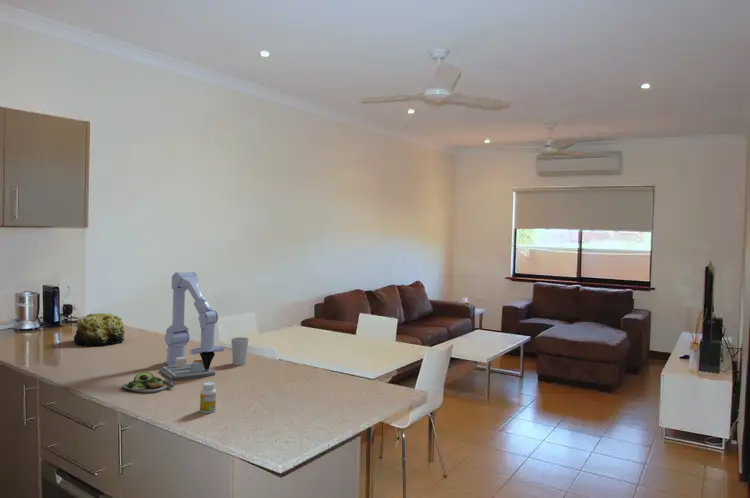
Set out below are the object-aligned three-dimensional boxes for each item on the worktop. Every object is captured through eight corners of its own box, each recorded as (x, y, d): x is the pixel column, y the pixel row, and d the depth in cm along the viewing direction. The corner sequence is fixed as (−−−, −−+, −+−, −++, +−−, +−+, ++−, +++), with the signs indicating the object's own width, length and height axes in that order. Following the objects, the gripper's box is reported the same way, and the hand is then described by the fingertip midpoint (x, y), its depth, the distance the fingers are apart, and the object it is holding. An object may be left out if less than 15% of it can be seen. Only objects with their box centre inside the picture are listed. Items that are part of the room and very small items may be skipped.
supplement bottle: (201, 408, 200) (202, 381, 200) (217, 408, 200) (218, 381, 200) (198, 413, 194) (199, 385, 194) (214, 413, 195) (215, 385, 195)
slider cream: (175, 367, 250) (175, 357, 249) (184, 366, 252) (184, 356, 252) (177, 369, 247) (177, 358, 247) (186, 368, 250) (186, 358, 249)
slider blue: (190, 373, 242) (191, 362, 242) (199, 371, 244) (200, 361, 244) (193, 374, 239) (193, 364, 239) (202, 373, 242) (202, 363, 242)
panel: (159, 371, 247) (159, 366, 247) (201, 366, 258) (201, 362, 258) (171, 380, 233) (171, 376, 233) (215, 375, 244) (215, 370, 244)
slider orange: (193, 369, 248) (193, 358, 248) (201, 368, 251) (202, 358, 251) (195, 370, 246) (195, 360, 246) (204, 369, 248) (204, 359, 248)
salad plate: (186, 385, 229) (186, 374, 229) (157, 397, 212) (157, 385, 211) (147, 379, 234) (147, 368, 234) (115, 390, 217) (116, 379, 217)
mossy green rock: (109, 336, 318) (110, 308, 318) (133, 342, 304) (133, 314, 304) (64, 342, 298) (64, 313, 298) (87, 349, 284) (88, 318, 283)
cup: (243, 366, 262) (244, 341, 262) (227, 364, 264) (228, 339, 263) (250, 362, 270) (251, 338, 270) (235, 361, 271) (236, 336, 271)
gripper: (194, 341, 236) (193, 373, 237) (227, 338, 245) (226, 369, 246) (188, 338, 242) (187, 369, 242) (221, 335, 251) (219, 365, 251)
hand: (206, 369), depth 244 cm, fingers closed
